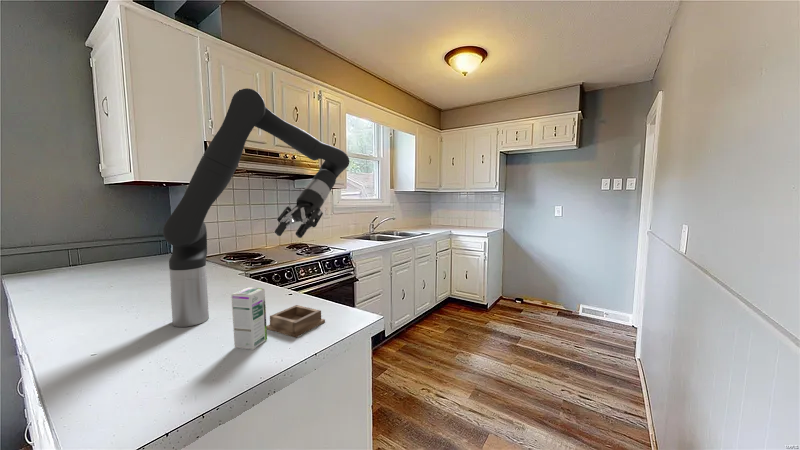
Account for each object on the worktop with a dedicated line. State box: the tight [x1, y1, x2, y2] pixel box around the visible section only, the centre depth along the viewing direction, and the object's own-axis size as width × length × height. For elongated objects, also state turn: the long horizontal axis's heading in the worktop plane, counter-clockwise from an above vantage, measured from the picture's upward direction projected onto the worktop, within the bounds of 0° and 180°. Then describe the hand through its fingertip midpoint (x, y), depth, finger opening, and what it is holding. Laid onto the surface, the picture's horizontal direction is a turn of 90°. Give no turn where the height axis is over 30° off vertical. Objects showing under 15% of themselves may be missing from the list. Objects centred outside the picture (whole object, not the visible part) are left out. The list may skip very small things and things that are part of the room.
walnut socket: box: [266, 304, 326, 339], centre depth 92 cm, size 12×12×4 cm
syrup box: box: [230, 287, 268, 351], centre depth 80 cm, size 6×6×14 cm
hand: (287, 235), depth 90 cm, fingers open, 8 cm apart
